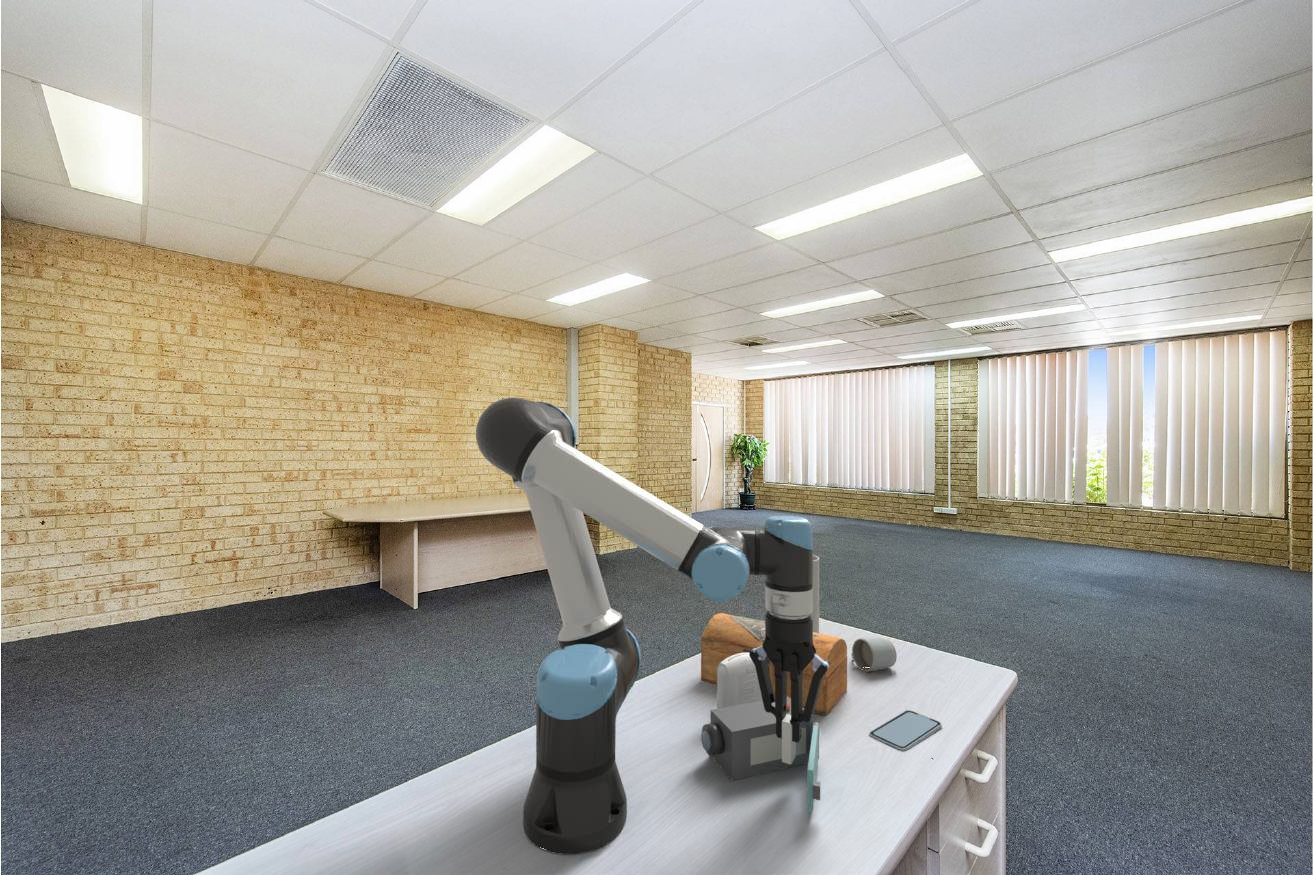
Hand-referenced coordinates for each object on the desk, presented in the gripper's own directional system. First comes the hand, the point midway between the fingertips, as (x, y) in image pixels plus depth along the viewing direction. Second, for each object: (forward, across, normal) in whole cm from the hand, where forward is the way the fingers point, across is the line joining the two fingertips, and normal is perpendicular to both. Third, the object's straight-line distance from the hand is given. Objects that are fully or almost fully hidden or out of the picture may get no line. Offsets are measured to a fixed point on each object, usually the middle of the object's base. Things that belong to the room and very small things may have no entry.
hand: (788, 758), depth 88 cm
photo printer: (+5, -16, +18) cm, 25 cm away
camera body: (+5, -7, +5) cm, 10 cm away
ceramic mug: (+5, +4, +58) cm, 59 cm away
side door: (+4, +4, +2) cm, 6 cm away
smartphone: (+5, +15, +29) cm, 33 cm away
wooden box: (+5, -14, +35) cm, 38 cm away
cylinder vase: (+5, -16, +60) cm, 62 cm away
